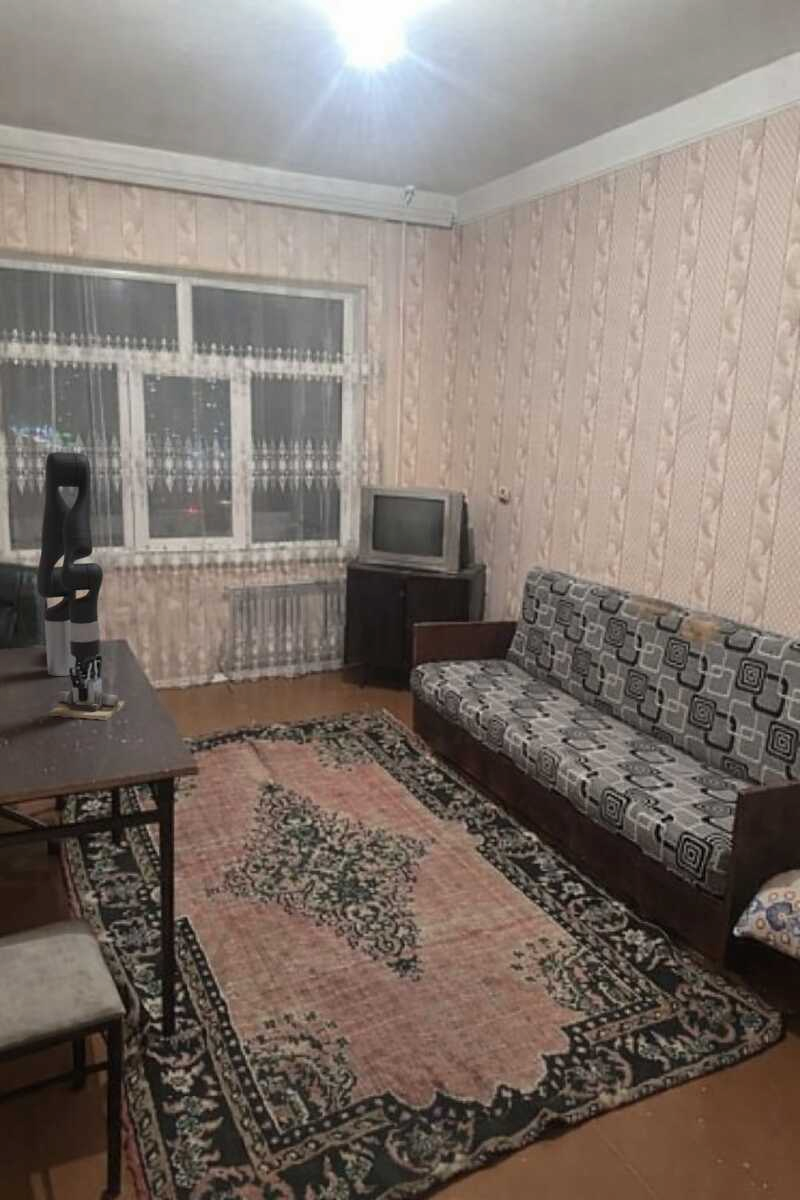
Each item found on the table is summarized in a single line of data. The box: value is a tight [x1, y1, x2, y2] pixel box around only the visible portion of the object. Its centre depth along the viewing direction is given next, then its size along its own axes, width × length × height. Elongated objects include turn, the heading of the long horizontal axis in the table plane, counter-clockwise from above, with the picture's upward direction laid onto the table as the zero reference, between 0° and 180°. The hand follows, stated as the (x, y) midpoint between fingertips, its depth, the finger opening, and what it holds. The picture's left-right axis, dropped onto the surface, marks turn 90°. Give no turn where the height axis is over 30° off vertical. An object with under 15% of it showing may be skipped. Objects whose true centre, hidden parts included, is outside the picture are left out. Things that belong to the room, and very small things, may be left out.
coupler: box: [71, 677, 103, 704], centre depth 226 cm, size 6×5×6 cm
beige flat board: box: [48, 688, 127, 721], centre depth 227 cm, size 12×16×6 cm
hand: (88, 697), depth 227 cm, fingers closed on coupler, 4 cm apart
